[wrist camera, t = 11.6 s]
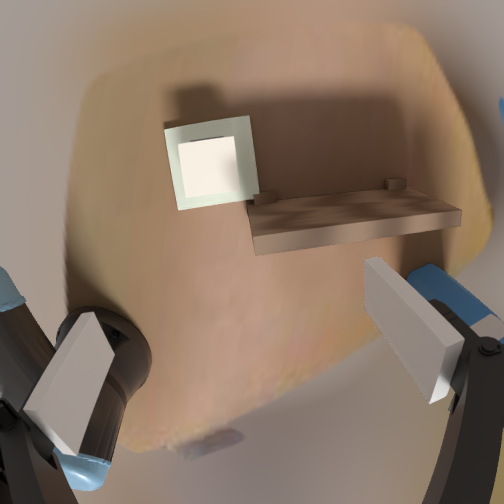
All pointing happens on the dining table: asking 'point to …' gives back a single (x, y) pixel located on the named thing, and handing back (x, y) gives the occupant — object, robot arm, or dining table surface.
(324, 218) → the walnut screen
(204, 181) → the white cube
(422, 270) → the water bottle
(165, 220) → the dining table surface
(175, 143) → the coaster
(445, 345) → the robot arm
